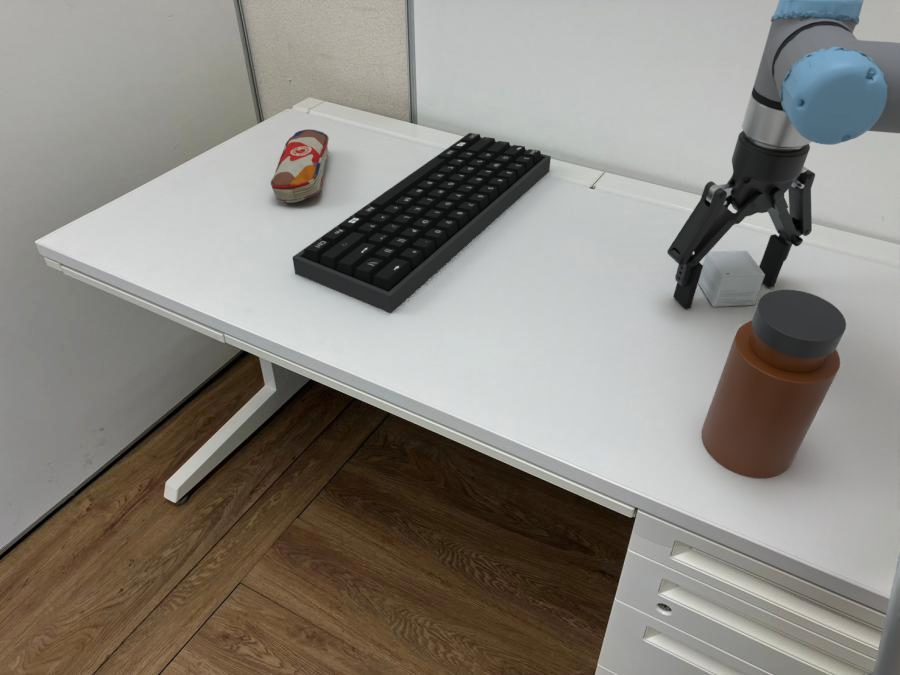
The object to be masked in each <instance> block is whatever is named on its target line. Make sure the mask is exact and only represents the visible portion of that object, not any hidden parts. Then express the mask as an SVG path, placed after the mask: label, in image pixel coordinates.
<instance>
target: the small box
mask: <svg viewBox="0 0 900 675" xmlns="http://www.w3.org/2000/svg"><path fill="white" fill-rule="evenodd" d="M702 265H703V268H702V271H701V275H700V278H699V281H698V285H699V286H700V288H701V289H702V292H703V293H704V295H705V296H706V298H707V300H708V301H709V303H710V305H711V306H712V307H713V308H717V307H719V308H720V307H744V306H753V305H755V303H756V301H757V297H758V296H759V293H760V289H761V287H762V285H763V279H764V276H765V274H764V273H763V271H762V270H761V269H760V267H759V266H760V265H759V264H757V261H755V260H754V258H753V257H752V255H751V254H750V252H748V250H728V251H709V252H708V253H707V254H706V255H705V257H704V258H703V263H702Z"/></svg>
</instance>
